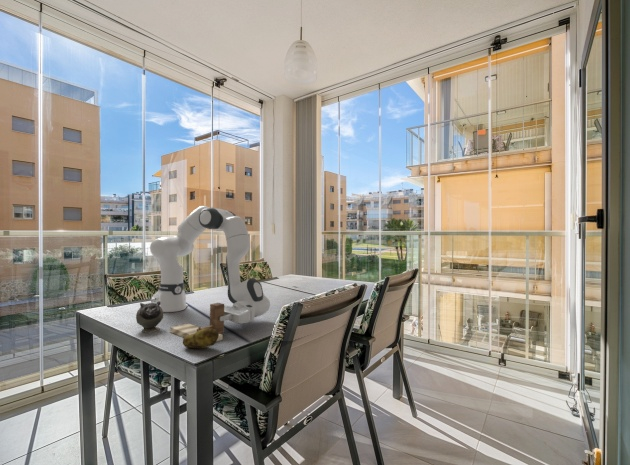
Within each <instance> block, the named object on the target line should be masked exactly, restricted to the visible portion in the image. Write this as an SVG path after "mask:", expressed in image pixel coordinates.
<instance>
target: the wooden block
mask: <svg viewBox="0 0 630 465" xmlns="http://www.w3.org/2000/svg"><path fill="white" fill-rule="evenodd" d="M209 305H210V306H209V325H207V326H203V327H201V326H197V327H198V329H197V332H198V331H199V330H201V329H204V328H213V329H215V330H216V331H217V332H218V333H219V334H224V333H225V330H224V329H225V328H224V327H225V326H224V325H225V320H224V321H219V320H218V319H219V318H218V317H219V316H224V305H225V303H222V302H221V303H220V302H215V303H210V304H209Z"/></svg>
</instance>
